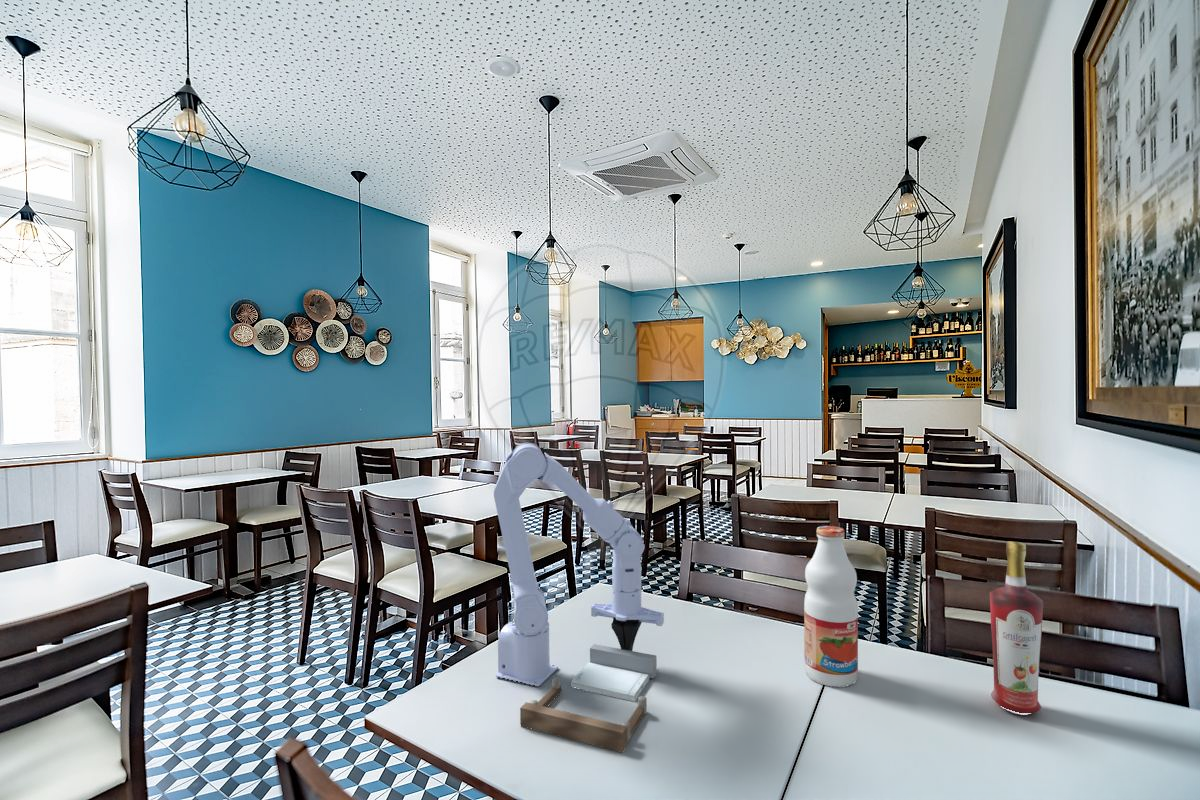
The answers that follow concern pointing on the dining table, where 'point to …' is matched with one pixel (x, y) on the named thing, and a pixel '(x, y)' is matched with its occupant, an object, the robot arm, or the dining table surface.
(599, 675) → the hard drive
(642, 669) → the grey rectangular beam
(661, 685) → the dining table surface
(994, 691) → the liquor
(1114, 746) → the dining table surface
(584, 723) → the dock
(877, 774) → the dining table surface
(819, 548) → the fruit juice
